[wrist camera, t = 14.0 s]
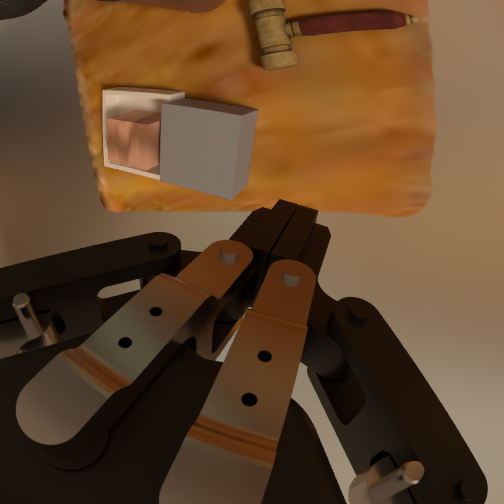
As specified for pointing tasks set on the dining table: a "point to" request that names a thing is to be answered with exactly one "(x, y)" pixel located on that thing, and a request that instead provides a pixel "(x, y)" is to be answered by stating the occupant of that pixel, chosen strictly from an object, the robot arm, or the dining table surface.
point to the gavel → (310, 28)
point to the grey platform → (206, 146)
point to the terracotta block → (134, 139)
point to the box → (130, 100)
